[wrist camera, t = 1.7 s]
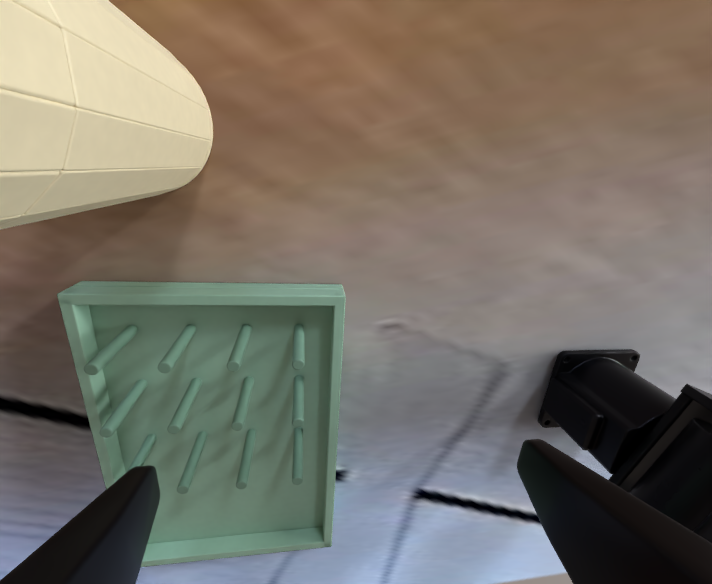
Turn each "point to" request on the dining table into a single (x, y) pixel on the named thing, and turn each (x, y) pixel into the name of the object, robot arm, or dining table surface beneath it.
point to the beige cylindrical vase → (91, 111)
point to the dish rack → (216, 407)
